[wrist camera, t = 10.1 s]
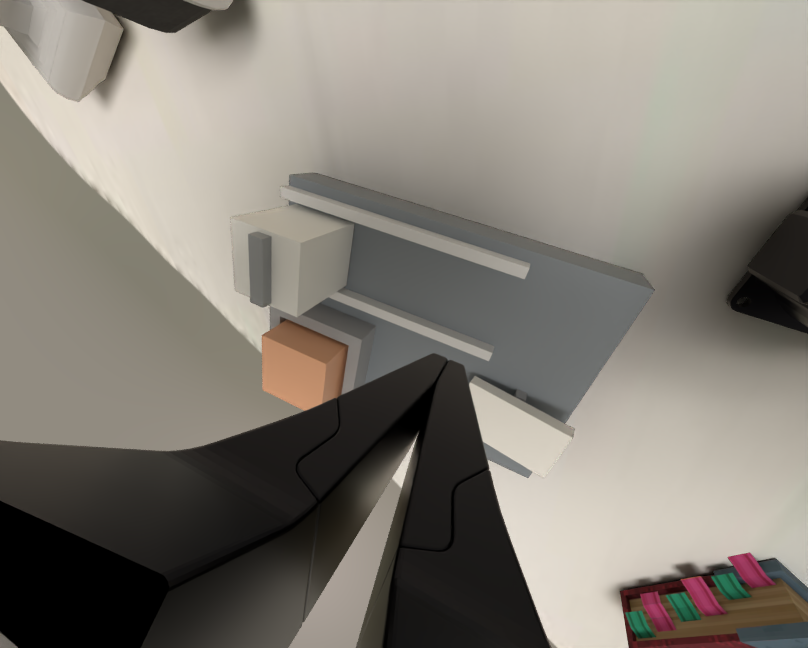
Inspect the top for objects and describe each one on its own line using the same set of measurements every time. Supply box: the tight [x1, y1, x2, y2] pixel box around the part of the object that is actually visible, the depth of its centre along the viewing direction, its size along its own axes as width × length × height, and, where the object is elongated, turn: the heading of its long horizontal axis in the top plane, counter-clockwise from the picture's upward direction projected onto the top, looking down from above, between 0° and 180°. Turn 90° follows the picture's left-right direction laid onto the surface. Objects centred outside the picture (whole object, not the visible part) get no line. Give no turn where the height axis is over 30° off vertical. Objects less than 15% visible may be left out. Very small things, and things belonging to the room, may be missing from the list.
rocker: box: [469, 376, 575, 478], centre depth 20 cm, size 6×4×1 cm, turn 77°
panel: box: [270, 173, 655, 478], centre depth 21 cm, size 20×14×4 cm
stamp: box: [0, 0, 123, 102], centre depth 19 cm, size 9×7×8 cm
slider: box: [230, 204, 354, 317], centre depth 18 cm, size 4×4×6 cm
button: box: [262, 319, 349, 411], centre depth 23 cm, size 5×5×4 cm
